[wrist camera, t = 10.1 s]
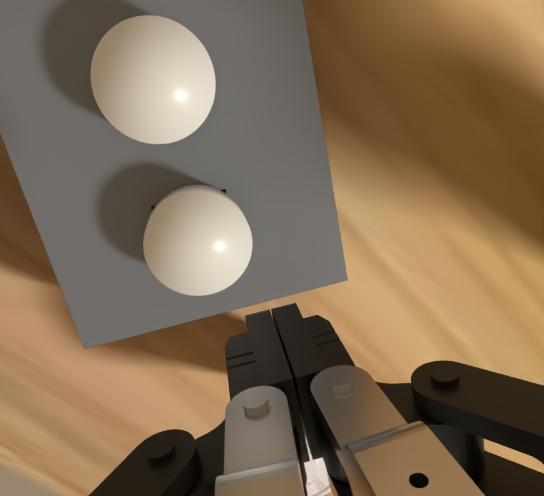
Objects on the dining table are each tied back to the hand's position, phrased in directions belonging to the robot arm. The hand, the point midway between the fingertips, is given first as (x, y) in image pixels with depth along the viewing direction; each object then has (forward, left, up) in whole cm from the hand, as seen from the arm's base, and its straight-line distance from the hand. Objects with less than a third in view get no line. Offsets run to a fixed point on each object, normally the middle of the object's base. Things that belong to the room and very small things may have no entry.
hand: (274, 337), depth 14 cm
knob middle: (+2, -8, -16) cm, 18 cm away
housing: (+2, -8, -16) cm, 18 cm away
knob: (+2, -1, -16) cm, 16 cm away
